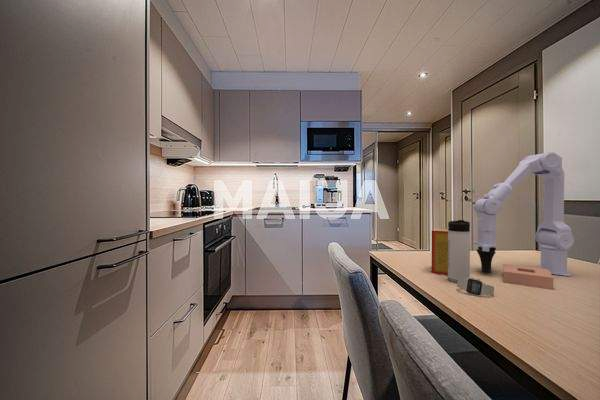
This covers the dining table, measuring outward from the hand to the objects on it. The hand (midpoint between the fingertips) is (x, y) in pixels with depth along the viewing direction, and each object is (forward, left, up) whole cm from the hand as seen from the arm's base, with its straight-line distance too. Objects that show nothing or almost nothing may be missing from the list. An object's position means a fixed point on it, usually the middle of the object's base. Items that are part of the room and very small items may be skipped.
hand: (486, 267), depth 101 cm
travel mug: (+18, -7, -2) cm, 19 cm away
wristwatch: (+28, -2, -2) cm, 28 cm away
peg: (0, 0, -2) cm, 2 cm away
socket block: (+5, +11, -2) cm, 12 cm away
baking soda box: (+8, -13, -2) cm, 15 cm away
